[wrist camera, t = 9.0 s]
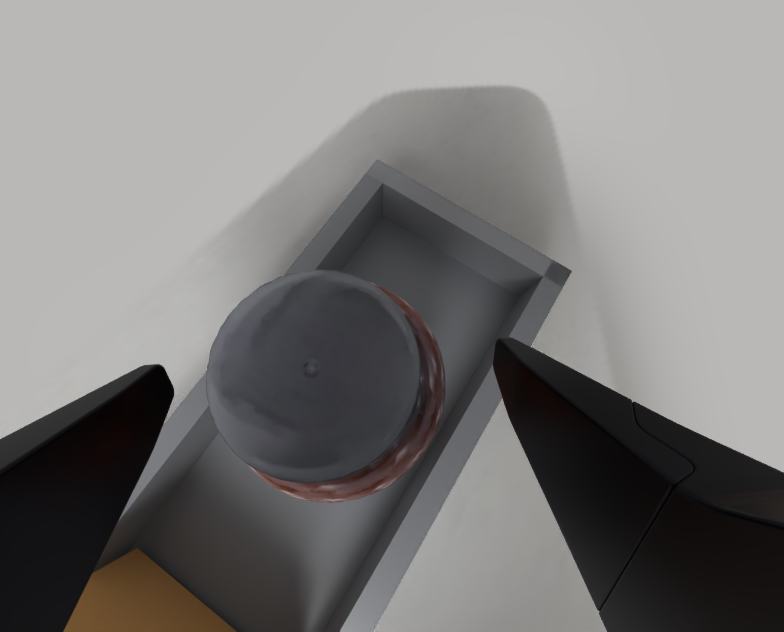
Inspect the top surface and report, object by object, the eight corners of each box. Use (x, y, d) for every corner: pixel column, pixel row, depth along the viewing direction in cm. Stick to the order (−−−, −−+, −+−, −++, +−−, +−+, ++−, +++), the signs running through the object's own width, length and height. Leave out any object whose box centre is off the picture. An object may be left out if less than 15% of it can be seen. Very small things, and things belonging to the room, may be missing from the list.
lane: (243, 810, 13) (143, 1097, 8) (49, 630, 15) (-153, 766, 9) (536, 296, 19) (597, 252, 14) (378, 203, 21) (376, 128, 15)
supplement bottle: (409, 466, 16) (458, 592, 5) (287, 447, 16) (87, 530, 5) (424, 345, 18) (487, 246, 7) (313, 328, 18) (198, 205, 7)
